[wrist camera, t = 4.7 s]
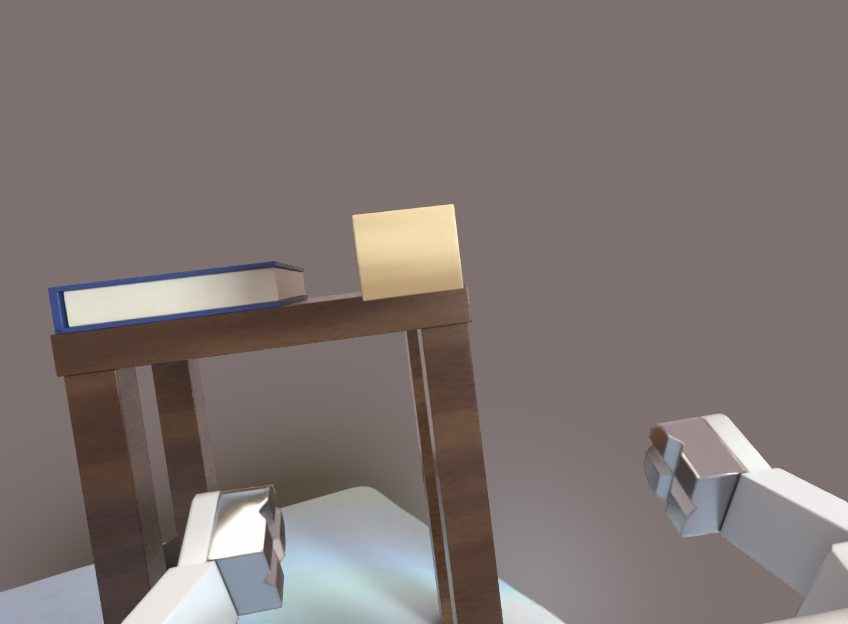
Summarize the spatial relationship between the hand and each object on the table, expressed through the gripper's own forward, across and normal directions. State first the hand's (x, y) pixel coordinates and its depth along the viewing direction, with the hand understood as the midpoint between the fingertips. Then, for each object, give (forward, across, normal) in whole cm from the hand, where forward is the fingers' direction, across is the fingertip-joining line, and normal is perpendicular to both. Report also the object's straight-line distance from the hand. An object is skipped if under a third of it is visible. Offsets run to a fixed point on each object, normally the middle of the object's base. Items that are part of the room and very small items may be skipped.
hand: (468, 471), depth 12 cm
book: (+22, -11, -9) cm, 27 cm away
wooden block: (+19, 0, -7) cm, 20 cm away
